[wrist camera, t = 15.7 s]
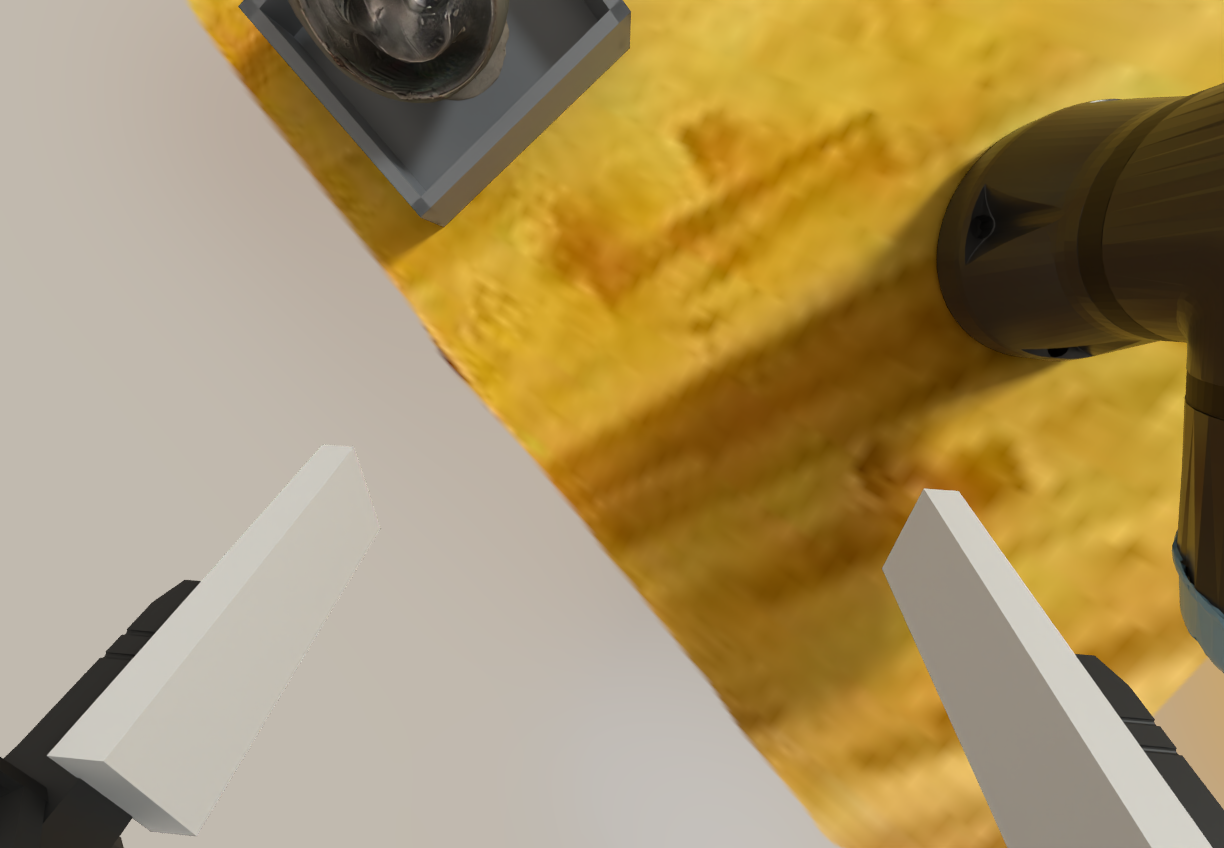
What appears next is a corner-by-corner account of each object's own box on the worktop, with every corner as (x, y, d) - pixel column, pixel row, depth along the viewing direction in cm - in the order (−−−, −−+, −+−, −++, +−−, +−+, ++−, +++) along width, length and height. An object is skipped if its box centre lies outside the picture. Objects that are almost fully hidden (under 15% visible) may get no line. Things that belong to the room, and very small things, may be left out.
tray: (472, -168, 29) (448, -241, 25) (629, 48, 31) (630, 11, 27) (285, 43, 31) (238, 6, 28) (443, 227, 34) (420, 217, 30)
